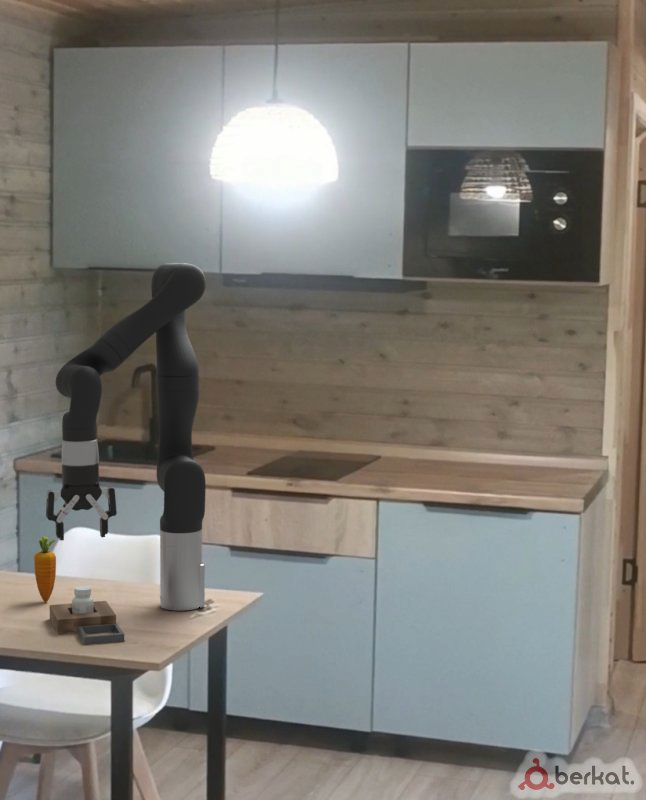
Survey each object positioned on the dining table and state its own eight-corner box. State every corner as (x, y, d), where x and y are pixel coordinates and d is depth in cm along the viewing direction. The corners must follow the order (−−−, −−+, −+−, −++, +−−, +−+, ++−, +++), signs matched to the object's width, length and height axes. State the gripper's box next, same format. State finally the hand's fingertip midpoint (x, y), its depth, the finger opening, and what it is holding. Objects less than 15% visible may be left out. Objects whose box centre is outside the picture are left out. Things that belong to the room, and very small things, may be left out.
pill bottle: (93, 620, 281) (93, 585, 280) (93, 626, 277) (93, 590, 276) (72, 621, 281) (72, 585, 280) (72, 627, 276) (71, 590, 275)
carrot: (38, 598, 299) (37, 533, 297) (59, 599, 298) (59, 533, 296) (31, 604, 294) (30, 537, 292) (53, 605, 293) (52, 538, 292)
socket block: (106, 614, 286) (105, 600, 286) (116, 629, 275) (116, 615, 275) (49, 618, 282) (49, 605, 282) (57, 634, 271) (57, 619, 271)
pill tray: (117, 630, 274) (117, 623, 274) (124, 641, 267) (124, 633, 266) (78, 633, 271) (78, 626, 271) (84, 644, 264) (84, 637, 264)
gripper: (111, 456, 281) (112, 532, 283) (42, 460, 276) (44, 537, 278) (117, 462, 274) (119, 539, 276) (47, 465, 269) (49, 544, 271)
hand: (82, 538), depth 277 cm, fingers open, 8 cm apart
